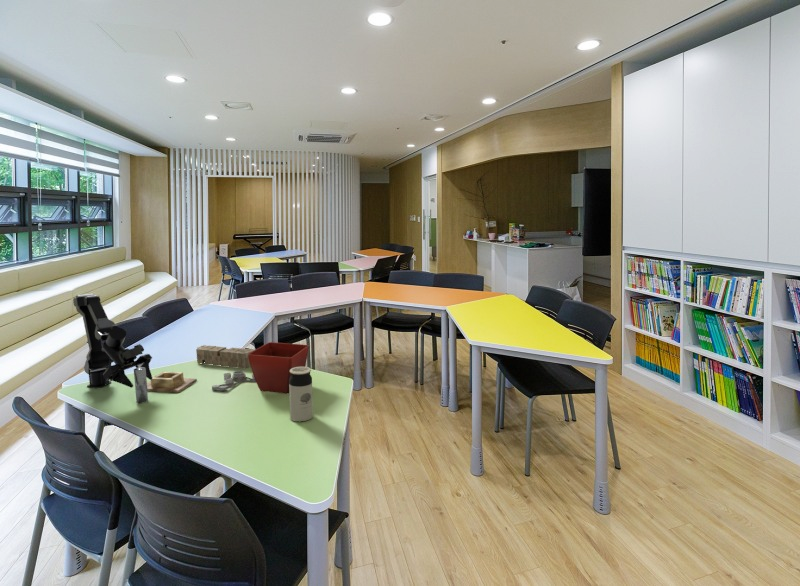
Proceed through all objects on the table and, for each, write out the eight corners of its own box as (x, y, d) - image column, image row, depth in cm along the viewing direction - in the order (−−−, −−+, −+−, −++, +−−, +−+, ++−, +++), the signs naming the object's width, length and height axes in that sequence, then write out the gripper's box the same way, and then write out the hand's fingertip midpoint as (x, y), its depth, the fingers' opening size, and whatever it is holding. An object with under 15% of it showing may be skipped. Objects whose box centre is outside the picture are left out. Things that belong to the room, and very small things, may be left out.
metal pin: (134, 402, 181) (131, 370, 179) (140, 398, 185) (138, 367, 183) (143, 403, 180) (141, 370, 178) (150, 399, 184) (147, 367, 182)
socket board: (137, 390, 193) (136, 380, 193) (158, 379, 207) (157, 369, 206) (178, 392, 192) (177, 382, 191) (196, 380, 205) (196, 371, 205)
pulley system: (204, 385, 203) (214, 394, 191) (204, 374, 202) (214, 382, 190) (266, 375, 219) (279, 383, 207) (266, 365, 219) (278, 372, 207)
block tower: (194, 365, 230) (247, 369, 222) (193, 349, 228) (245, 352, 221) (205, 361, 237) (256, 364, 230) (204, 344, 236) (255, 347, 228)
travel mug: (288, 415, 171) (286, 367, 168) (309, 411, 174) (308, 365, 172) (292, 423, 164) (291, 374, 161) (315, 420, 167) (314, 371, 164)
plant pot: (292, 398, 187) (291, 357, 185) (248, 394, 191) (246, 354, 188) (310, 381, 206) (309, 344, 203) (270, 378, 210) (269, 342, 207)
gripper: (106, 345, 171) (133, 377, 170) (146, 334, 189) (171, 362, 188) (91, 364, 174) (117, 396, 173) (132, 351, 192) (156, 379, 191)
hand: (142, 382), depth 181 cm, fingers open, 9 cm apart
